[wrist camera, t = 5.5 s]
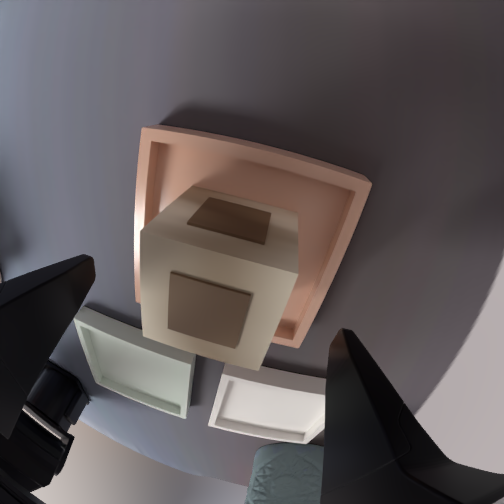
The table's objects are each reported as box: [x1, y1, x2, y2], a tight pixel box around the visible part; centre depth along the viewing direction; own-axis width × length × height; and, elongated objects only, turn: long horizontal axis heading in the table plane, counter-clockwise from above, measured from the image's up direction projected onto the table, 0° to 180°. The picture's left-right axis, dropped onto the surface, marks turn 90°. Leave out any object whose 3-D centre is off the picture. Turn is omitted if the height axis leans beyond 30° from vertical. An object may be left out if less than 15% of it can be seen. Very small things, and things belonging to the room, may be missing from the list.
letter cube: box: [140, 186, 298, 371], centre depth 10 cm, size 4×5×5 cm
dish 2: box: [134, 124, 372, 348], centre depth 12 cm, size 9×9×1 cm
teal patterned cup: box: [245, 443, 324, 504], centre depth 20 cm, size 10×10×12 cm
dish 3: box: [208, 363, 326, 444], centre depth 19 cm, size 9×9×1 cm
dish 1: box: [74, 306, 196, 419], centre depth 19 cm, size 9×9×1 cm
